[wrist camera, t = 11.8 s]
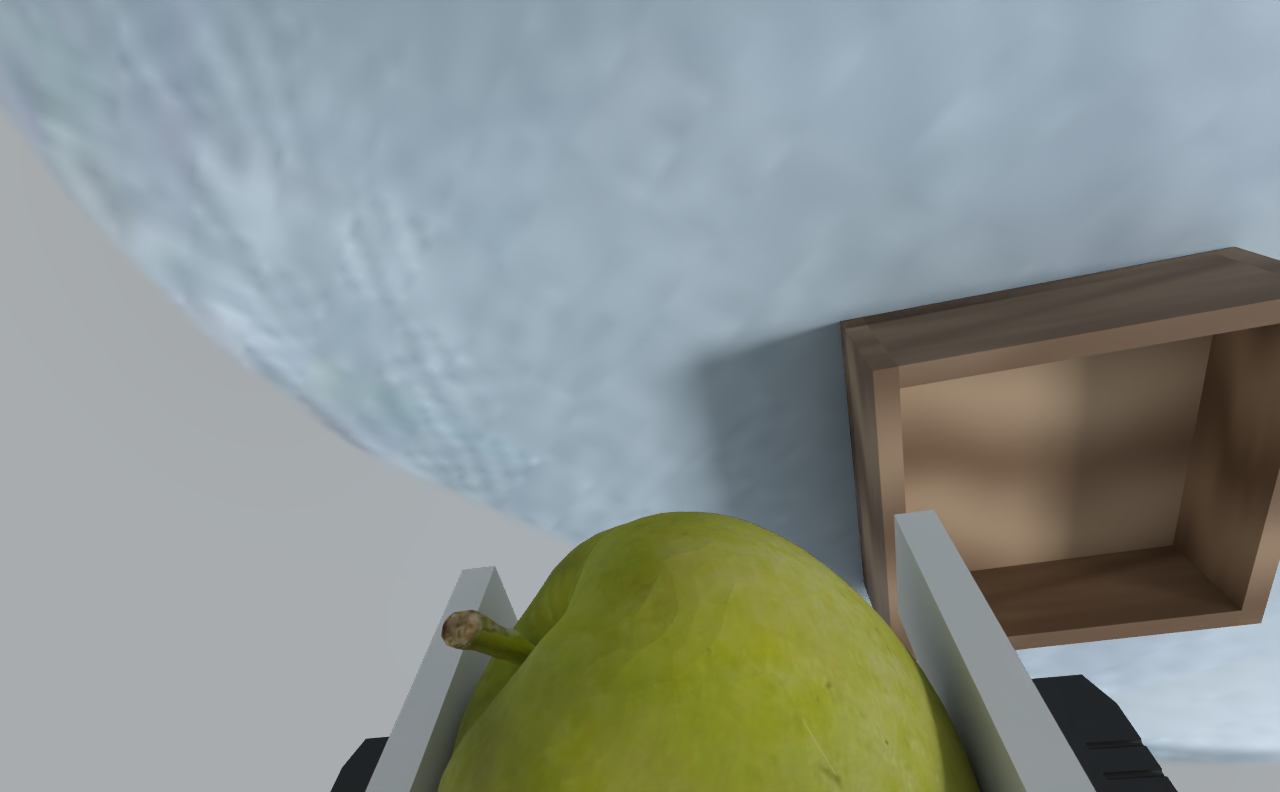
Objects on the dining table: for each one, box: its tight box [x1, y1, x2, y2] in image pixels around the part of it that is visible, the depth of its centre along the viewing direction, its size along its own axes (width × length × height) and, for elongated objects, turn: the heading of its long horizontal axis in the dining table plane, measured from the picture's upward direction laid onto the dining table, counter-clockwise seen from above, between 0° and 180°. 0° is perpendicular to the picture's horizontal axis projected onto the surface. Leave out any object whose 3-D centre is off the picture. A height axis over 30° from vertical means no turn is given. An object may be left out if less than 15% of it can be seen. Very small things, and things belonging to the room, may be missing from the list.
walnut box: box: [840, 247, 1280, 661], centre depth 24 cm, size 14×14×4 cm
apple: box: [437, 512, 981, 792], centre depth 10 cm, size 8×9×8 cm
